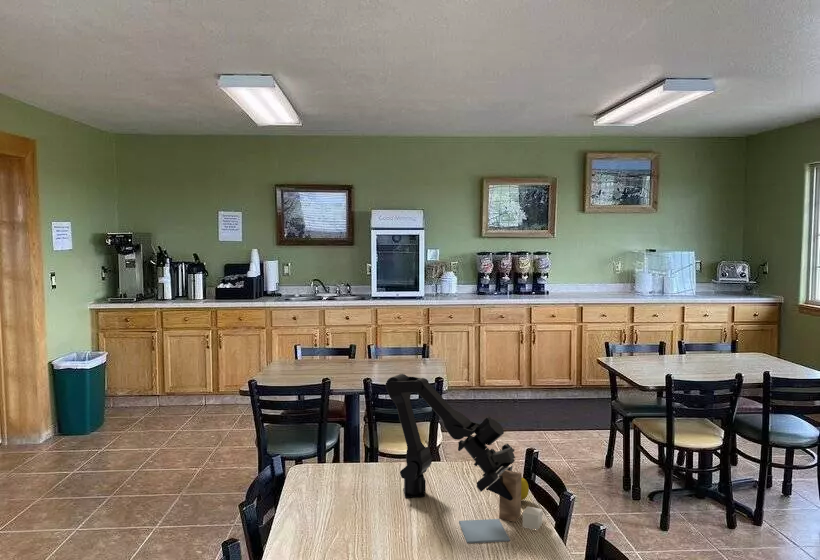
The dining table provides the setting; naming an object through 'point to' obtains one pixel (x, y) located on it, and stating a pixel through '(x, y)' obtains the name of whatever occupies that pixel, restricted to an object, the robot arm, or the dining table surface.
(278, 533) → the dining table surface
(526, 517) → the grey cube
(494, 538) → the slate mat
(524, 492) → the lemon
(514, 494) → the tall block
